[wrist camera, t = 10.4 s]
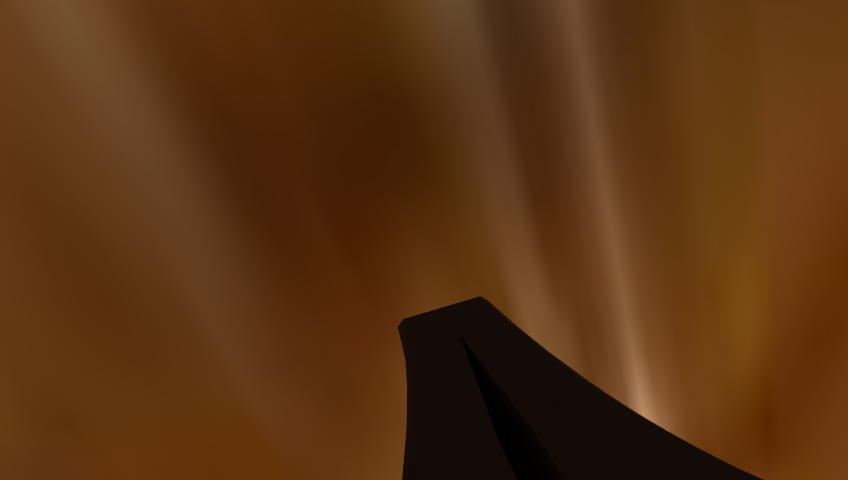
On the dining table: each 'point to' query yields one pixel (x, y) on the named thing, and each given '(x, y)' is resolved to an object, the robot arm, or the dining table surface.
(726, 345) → the dining table surface
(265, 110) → the dining table surface
